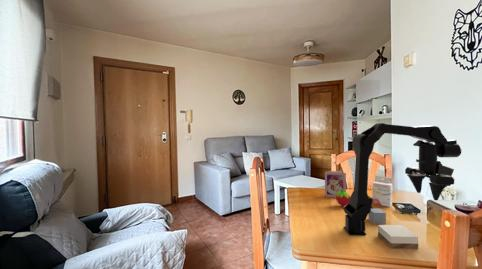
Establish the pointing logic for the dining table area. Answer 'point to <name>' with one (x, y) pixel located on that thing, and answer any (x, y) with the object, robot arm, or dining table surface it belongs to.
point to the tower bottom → (398, 244)
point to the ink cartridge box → (382, 191)
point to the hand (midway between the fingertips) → (426, 196)
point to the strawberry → (343, 198)
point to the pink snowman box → (334, 183)
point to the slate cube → (377, 216)
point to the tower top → (397, 234)
